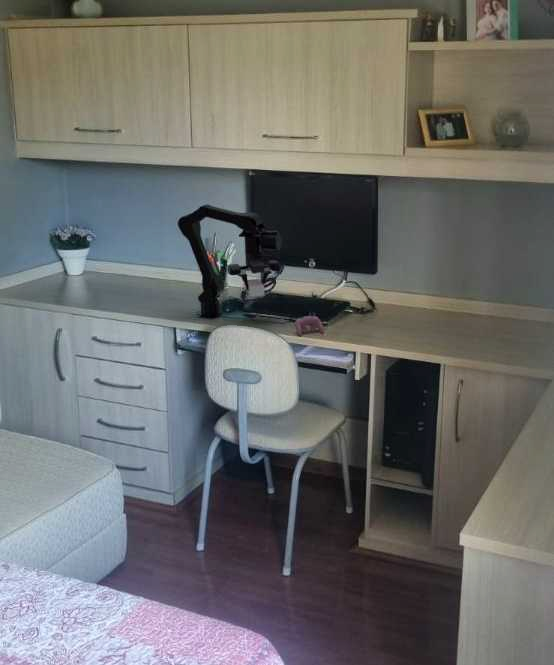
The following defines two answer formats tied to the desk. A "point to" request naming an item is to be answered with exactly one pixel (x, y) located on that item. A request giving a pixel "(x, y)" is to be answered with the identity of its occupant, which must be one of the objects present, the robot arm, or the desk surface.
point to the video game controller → (307, 320)
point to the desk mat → (270, 319)
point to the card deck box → (255, 288)
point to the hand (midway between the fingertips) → (254, 290)
